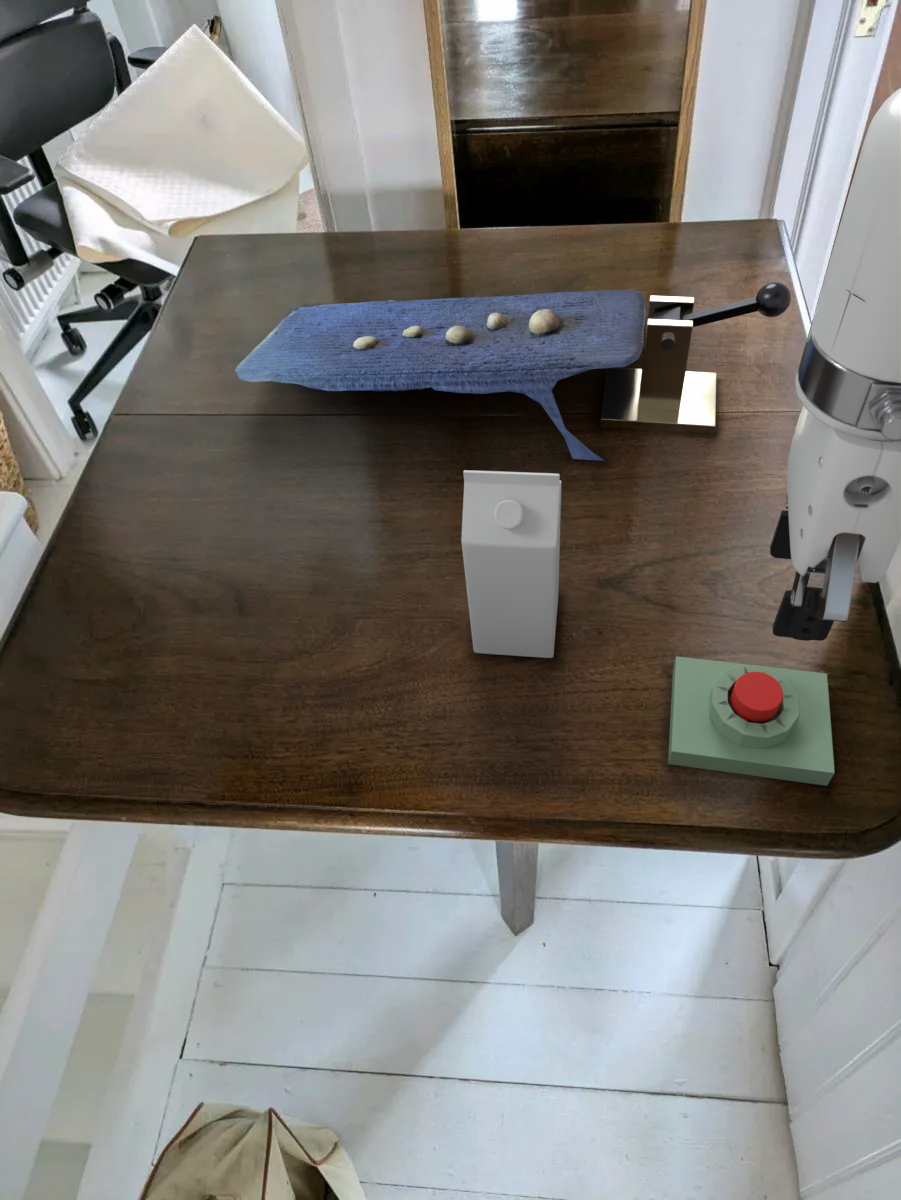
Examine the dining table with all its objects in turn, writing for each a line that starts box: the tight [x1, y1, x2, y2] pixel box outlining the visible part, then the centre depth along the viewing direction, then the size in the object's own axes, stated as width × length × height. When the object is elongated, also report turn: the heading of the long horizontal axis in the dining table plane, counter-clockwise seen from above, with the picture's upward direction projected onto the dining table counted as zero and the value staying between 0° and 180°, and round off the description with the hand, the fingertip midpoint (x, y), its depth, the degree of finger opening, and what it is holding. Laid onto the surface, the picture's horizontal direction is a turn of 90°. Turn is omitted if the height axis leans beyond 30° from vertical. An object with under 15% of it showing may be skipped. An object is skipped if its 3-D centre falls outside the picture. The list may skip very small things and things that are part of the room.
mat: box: [234, 288, 646, 462], centre depth 100 cm, size 45×27×12 cm, turn 82°
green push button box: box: [667, 655, 835, 786], centre depth 68 cm, size 12×9×4 cm
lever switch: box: [653, 281, 792, 328], centre depth 84 cm, size 13×3×3 cm, turn 79°
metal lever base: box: [599, 295, 718, 435], centre depth 90 cm, size 12×9×12 cm
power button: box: [731, 672, 783, 722], centre depth 66 cm, size 4×4×2 cm
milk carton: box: [460, 469, 562, 659], centre depth 70 cm, size 7×7×19 cm
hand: (796, 592), depth 56 cm, fingers open, 5 cm apart
